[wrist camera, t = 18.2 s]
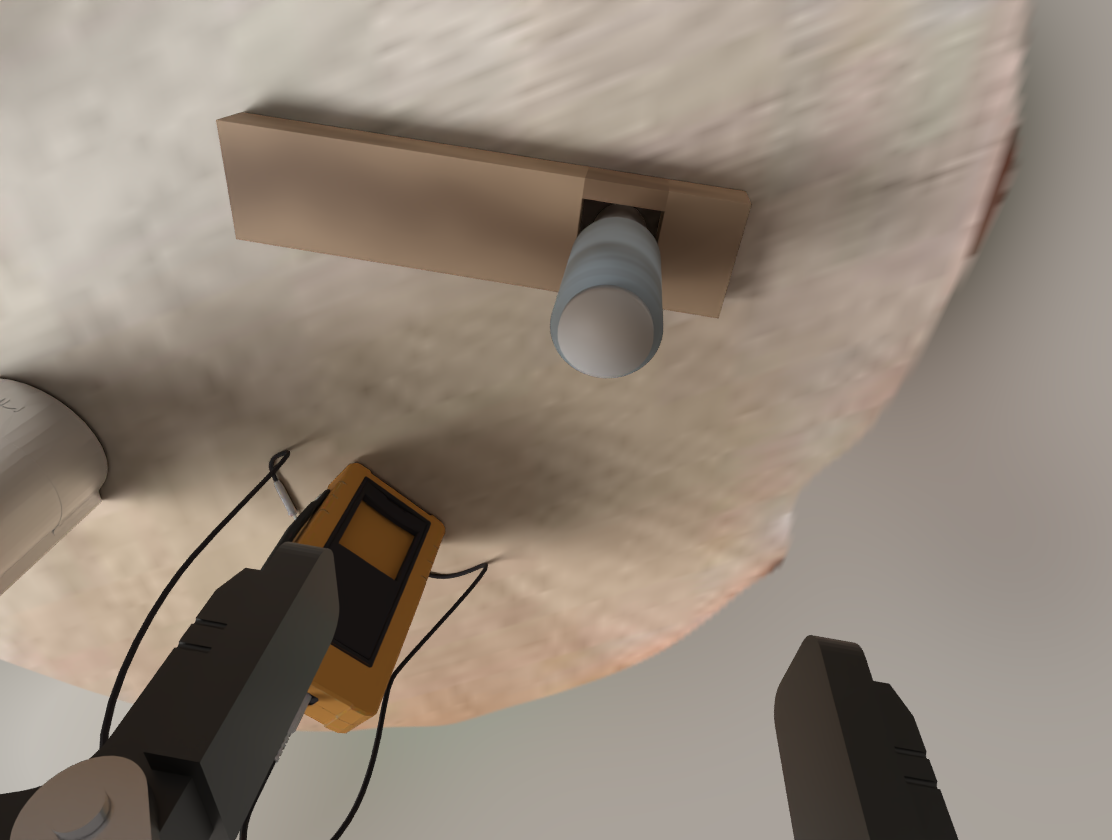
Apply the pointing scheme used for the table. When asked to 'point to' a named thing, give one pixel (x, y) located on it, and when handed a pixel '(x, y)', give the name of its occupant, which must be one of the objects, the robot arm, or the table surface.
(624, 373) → the grey stepped cylinder
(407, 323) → the table surface
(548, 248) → the bar
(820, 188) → the table surface
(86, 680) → the table surface
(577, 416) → the table surface
